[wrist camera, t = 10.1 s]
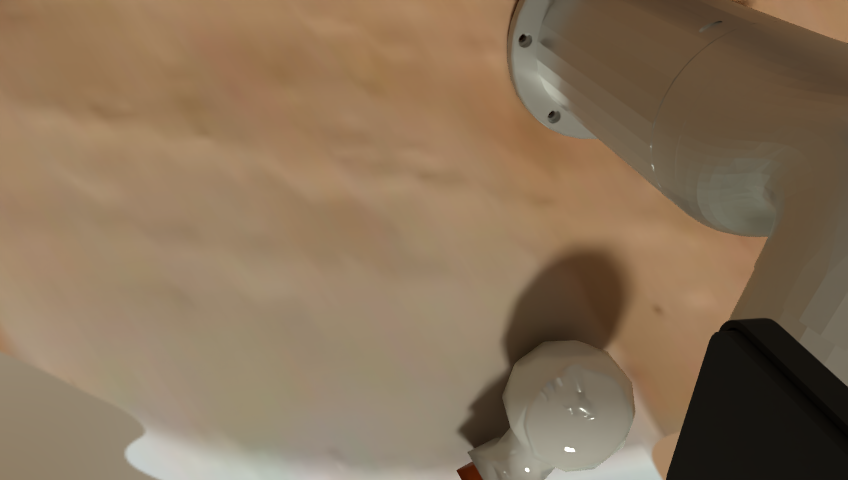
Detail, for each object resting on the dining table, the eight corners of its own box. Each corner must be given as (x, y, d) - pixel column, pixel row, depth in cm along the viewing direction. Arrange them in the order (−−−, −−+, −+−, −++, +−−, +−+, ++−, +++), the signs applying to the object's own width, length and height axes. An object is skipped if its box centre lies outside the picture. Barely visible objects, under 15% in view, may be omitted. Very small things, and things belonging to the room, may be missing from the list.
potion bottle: (589, 304, 62) (485, 430, 68) (531, 322, 54) (419, 463, 60) (680, 391, 58) (562, 516, 64) (632, 424, 50) (502, 563, 56)
